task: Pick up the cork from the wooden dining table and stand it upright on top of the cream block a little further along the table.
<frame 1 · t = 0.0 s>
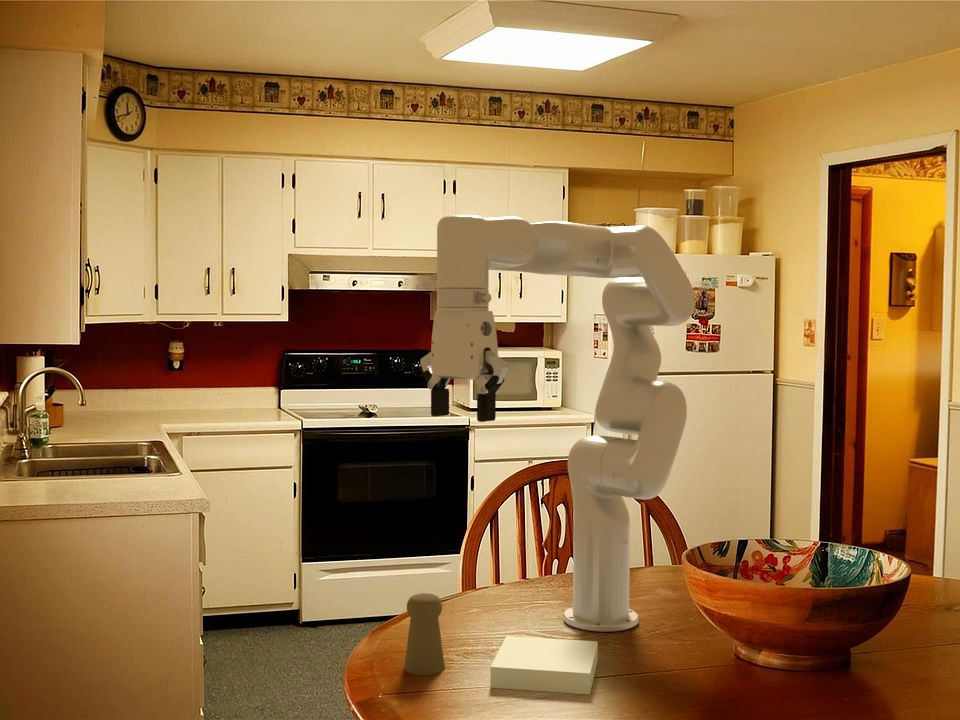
hand: (462, 418, 156), 37 cm above the table, tool pointing down, fingers open, 9 cm apart
cream block: (545, 673, 156), on the table
cork: (424, 669, 158), on the table
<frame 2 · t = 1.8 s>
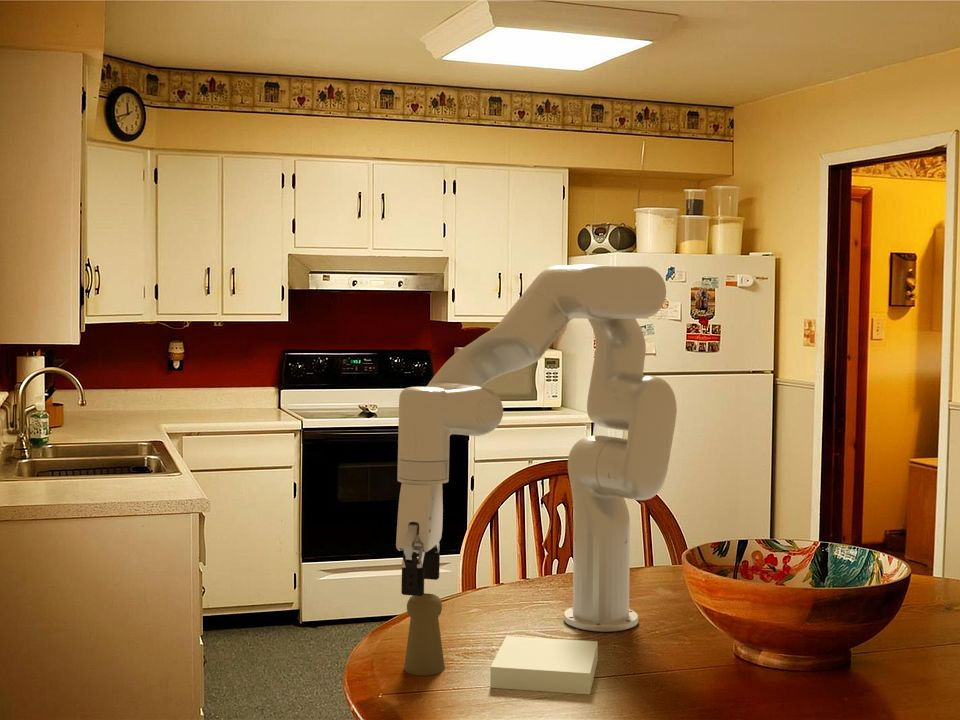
hand: (420, 586, 157), 12 cm above the table, tool pointing down, fingers open, 9 cm apart
nothing on the table moved.
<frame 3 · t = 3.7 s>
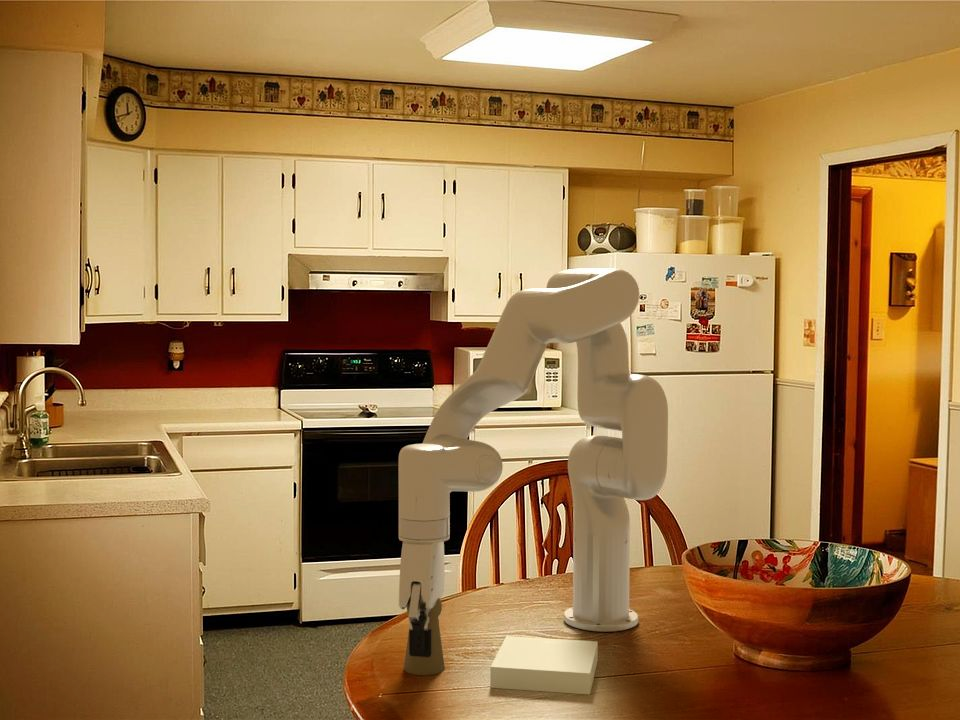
hand: (424, 649, 158), 3 cm above the table, tool pointing down, fingers closed on cork, 4 cm apart
cork: (424, 669, 158), on the table, touching gripper
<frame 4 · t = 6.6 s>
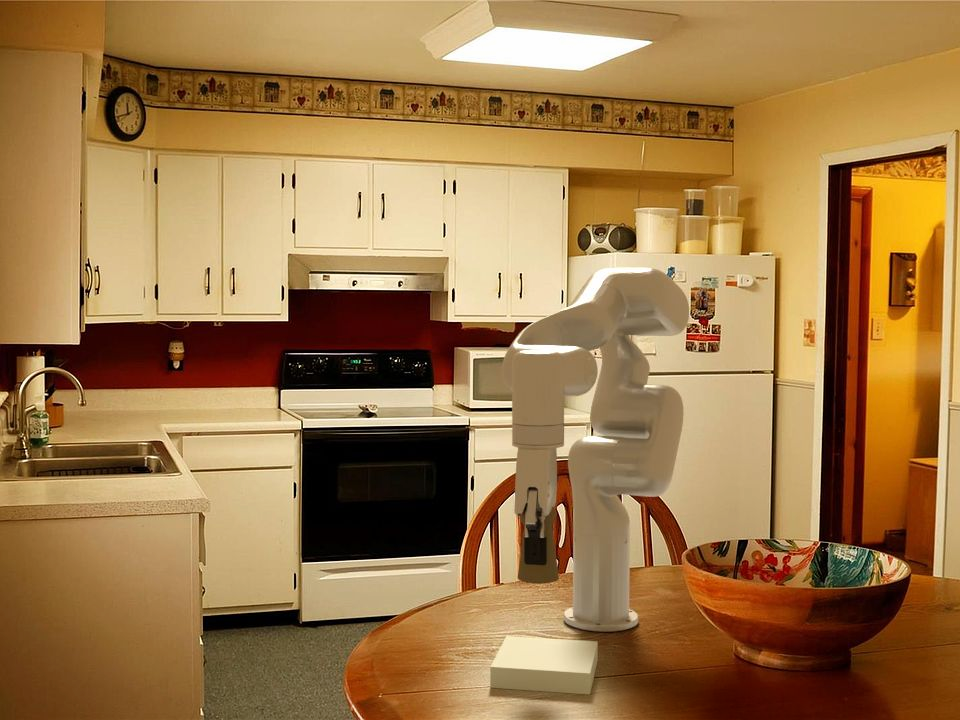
hand: (538, 558, 155), 17 cm above the table, tool pointing down, fingers closed on cork, 4 cm apart
cork: (538, 579, 155), point 14 cm above the table, touching gripper
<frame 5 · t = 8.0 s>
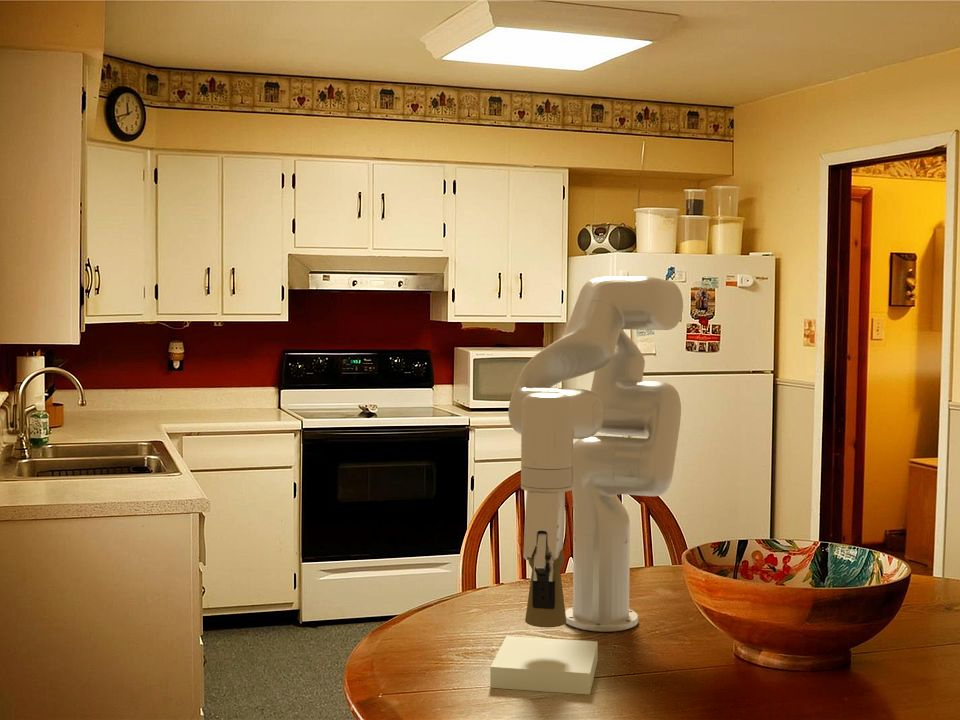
hand: (545, 602, 155), 11 cm above the table, tool pointing down, fingers closed on cork, 4 cm apart
cork: (545, 622, 155), point 8 cm above the table, touching gripper
when the fingers open (7 cm above the table, at t = 9.4 s): cork drops 1 cm, resting on cream block.
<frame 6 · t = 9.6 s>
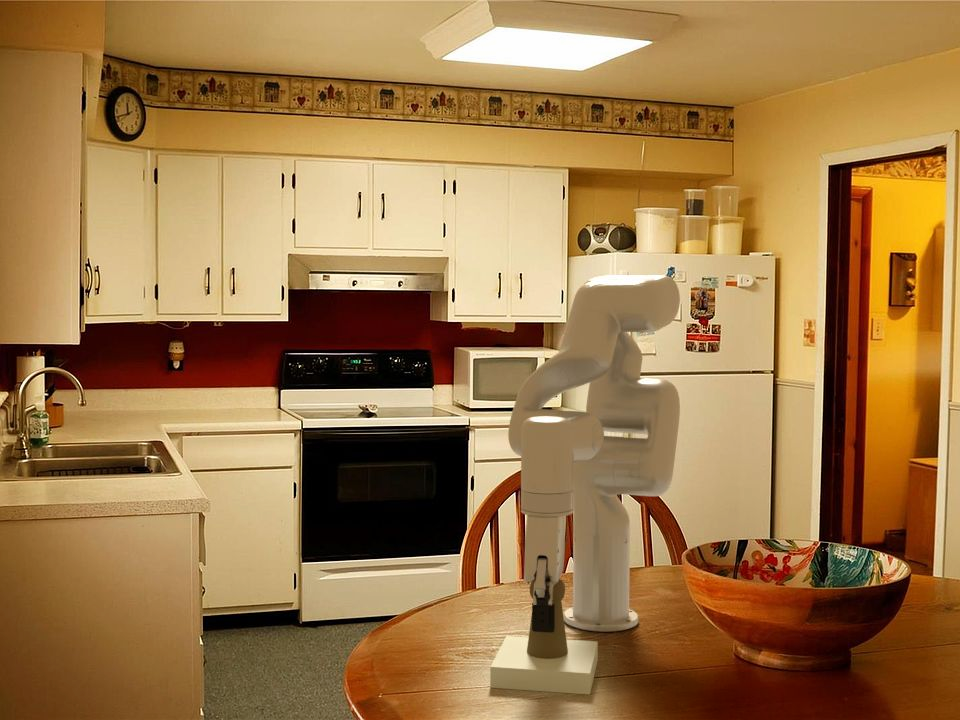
hand: (546, 623, 155), 8 cm above the table, tool pointing down, fingers open, 6 cm apart
cork: (547, 652, 156), point 3 cm above the table, touching gripper, cream block
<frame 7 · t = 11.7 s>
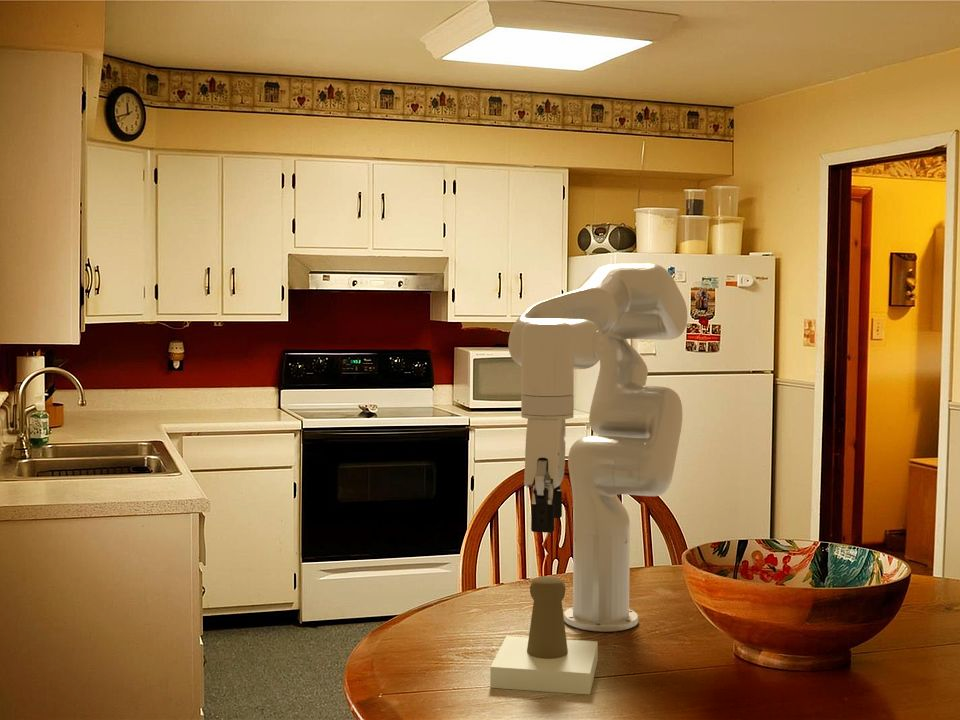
hand: (546, 524, 155), 22 cm above the table, tool pointing down, fingers open, 9 cm apart
cork: (547, 653, 156), point 3 cm above the table, touching cream block
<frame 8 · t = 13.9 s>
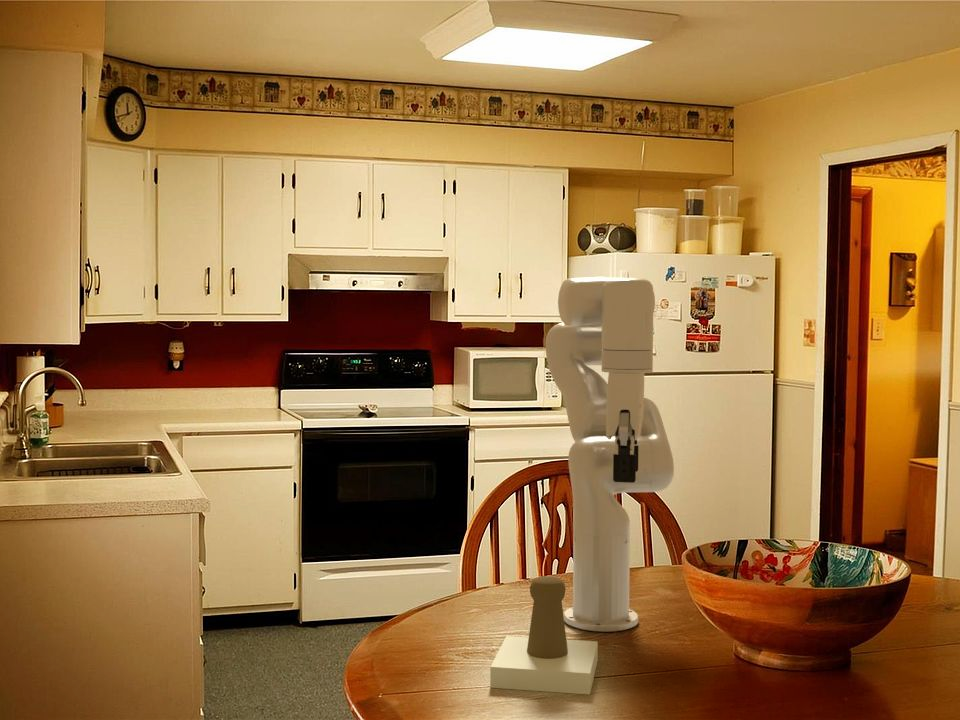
hand: (626, 476, 159), 28 cm above the table, tool pointing down, fingers open, 9 cm apart
nothing on the table moved.
at the end: cork inside the target area on the cream block (0.8 cm from its centre), point 2.8 cm above the cream block's base; cork tilted 0°; the gripper is holding nothing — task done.
